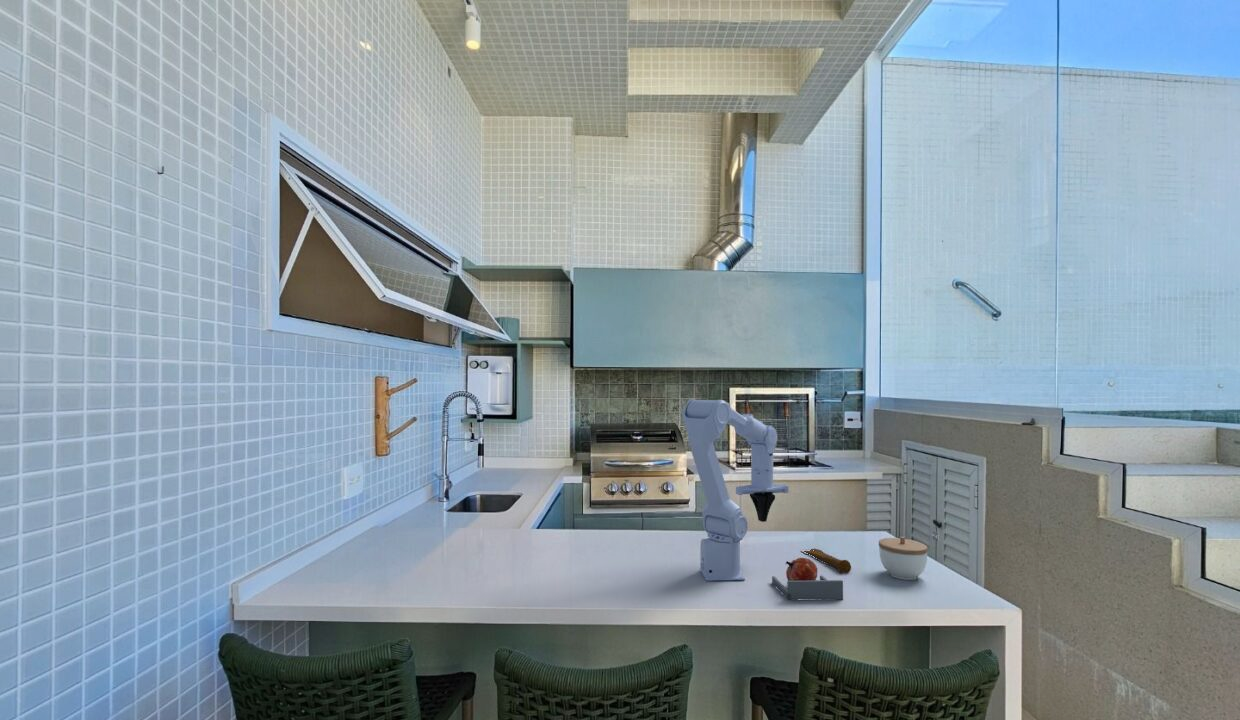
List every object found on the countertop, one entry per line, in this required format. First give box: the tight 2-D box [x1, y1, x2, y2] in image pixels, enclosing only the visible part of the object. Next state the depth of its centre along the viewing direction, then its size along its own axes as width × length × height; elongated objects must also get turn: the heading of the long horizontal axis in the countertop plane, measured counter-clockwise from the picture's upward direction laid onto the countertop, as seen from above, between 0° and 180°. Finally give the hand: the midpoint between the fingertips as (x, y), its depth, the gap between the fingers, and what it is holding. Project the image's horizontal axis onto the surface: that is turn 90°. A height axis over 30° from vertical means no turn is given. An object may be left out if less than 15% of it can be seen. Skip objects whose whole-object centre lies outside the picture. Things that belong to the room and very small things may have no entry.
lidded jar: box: [878, 536, 928, 581], centre depth 136 cm, size 11×11×9 cm
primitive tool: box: [804, 548, 852, 574], centre depth 146 cm, size 19×6×4 cm, turn 12°
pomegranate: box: [785, 557, 818, 581], centre depth 126 cm, size 7×7×10 cm
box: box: [771, 575, 844, 601], centre depth 125 cm, size 12×11×4 cm
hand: (762, 520), depth 147 cm, fingers closed
